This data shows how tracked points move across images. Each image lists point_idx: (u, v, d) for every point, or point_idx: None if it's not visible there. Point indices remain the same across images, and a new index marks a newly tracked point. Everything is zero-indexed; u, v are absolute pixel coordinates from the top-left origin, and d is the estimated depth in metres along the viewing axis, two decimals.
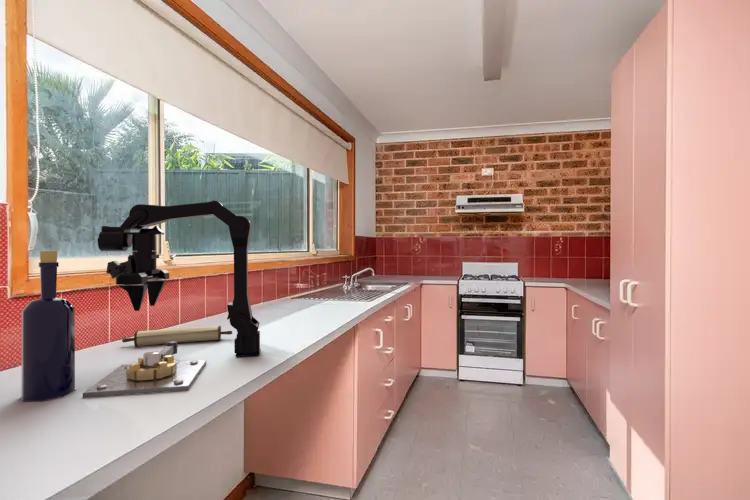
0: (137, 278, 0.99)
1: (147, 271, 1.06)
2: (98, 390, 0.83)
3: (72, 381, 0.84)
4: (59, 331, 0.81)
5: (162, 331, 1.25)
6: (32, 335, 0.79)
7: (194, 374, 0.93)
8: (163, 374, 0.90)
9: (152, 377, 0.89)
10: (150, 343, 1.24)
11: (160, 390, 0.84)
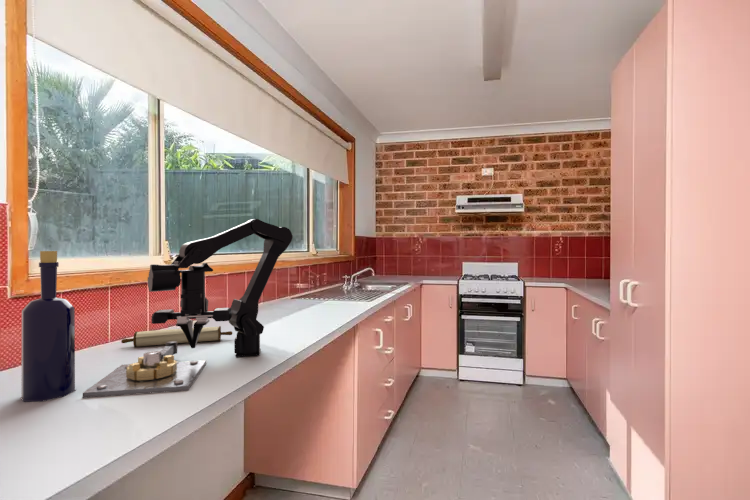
0: (152, 317, 1.01)
1: None
2: (98, 390, 0.83)
3: (72, 381, 0.84)
4: (59, 331, 0.81)
5: (162, 332, 1.25)
6: (32, 335, 0.79)
7: (194, 374, 0.93)
8: (163, 374, 0.90)
9: (152, 377, 0.89)
10: (149, 344, 1.23)
11: (160, 390, 0.84)
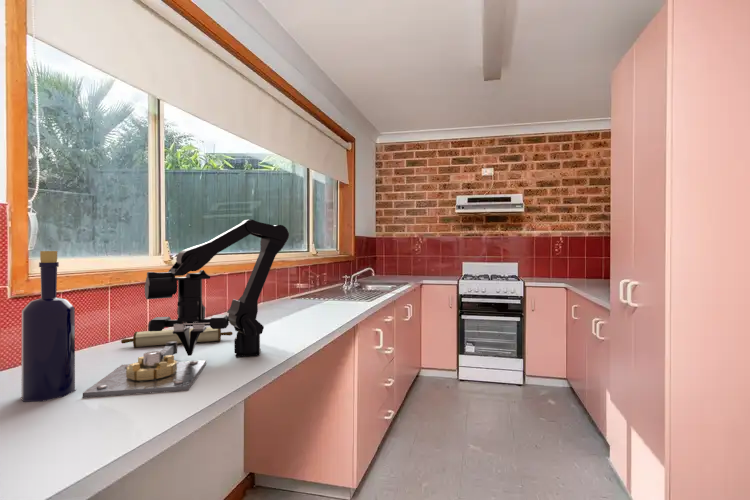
0: None
1: None
2: (98, 390, 0.83)
3: (72, 381, 0.84)
4: (59, 331, 0.81)
5: (161, 332, 1.24)
6: (32, 335, 0.79)
7: (194, 374, 0.93)
8: (163, 374, 0.90)
9: (152, 377, 0.89)
10: (149, 344, 1.23)
11: (160, 390, 0.84)
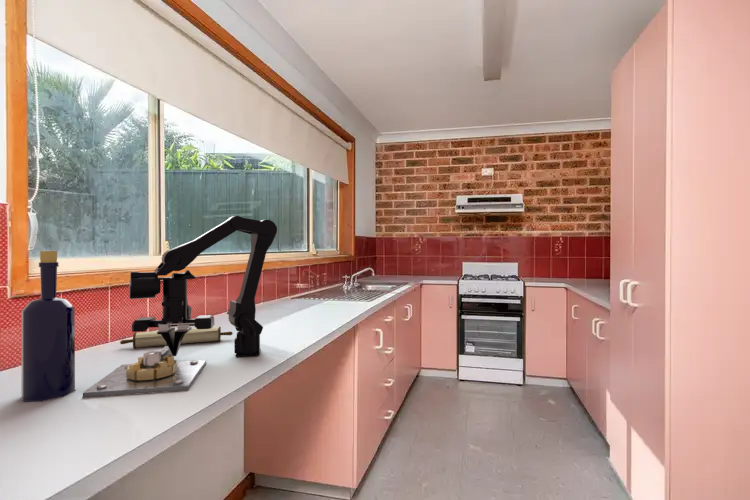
0: (132, 325, 1.00)
1: None
2: (98, 390, 0.83)
3: (72, 381, 0.84)
4: (59, 331, 0.81)
5: None
6: (32, 335, 0.79)
7: (194, 374, 0.93)
8: (163, 374, 0.90)
9: (152, 377, 0.89)
10: (149, 345, 1.22)
11: (160, 390, 0.84)
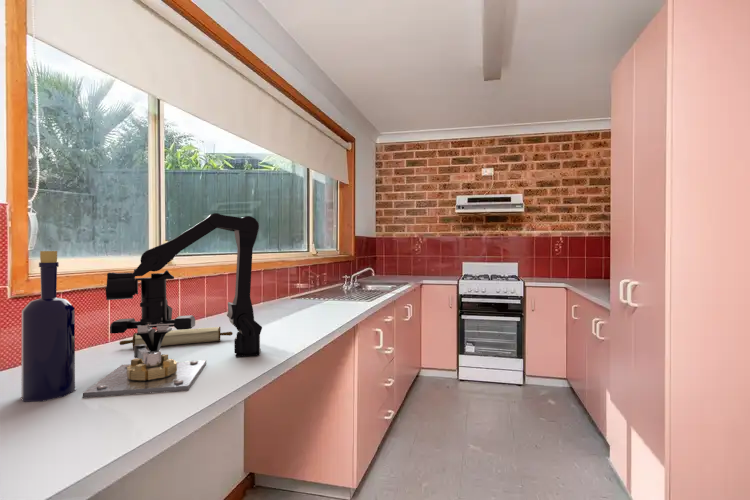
0: None
1: None
2: (98, 390, 0.83)
3: (72, 381, 0.84)
4: (59, 331, 0.81)
5: None
6: (32, 335, 0.79)
7: (194, 374, 0.93)
8: (171, 371, 0.92)
9: (164, 375, 0.90)
10: None
11: (160, 390, 0.84)
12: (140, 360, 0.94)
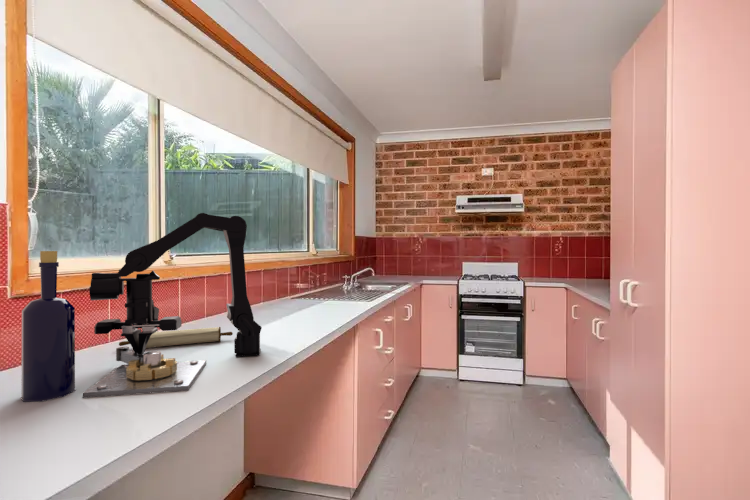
0: None
1: None
2: (98, 390, 0.83)
3: (72, 381, 0.84)
4: (59, 331, 0.81)
5: (161, 333, 1.22)
6: (32, 335, 0.79)
7: (194, 374, 0.93)
8: (174, 369, 0.94)
9: (169, 373, 0.91)
10: (149, 346, 1.20)
11: (160, 390, 0.84)
12: (138, 361, 0.93)
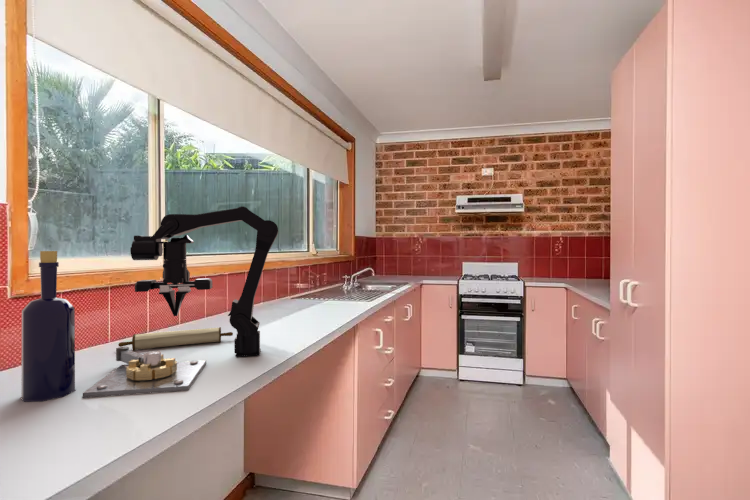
0: (135, 286, 1.06)
1: None
2: (98, 390, 0.83)
3: (72, 381, 0.84)
4: (59, 331, 0.81)
5: (161, 334, 1.21)
6: (32, 335, 0.79)
7: (194, 374, 0.93)
8: (174, 369, 0.94)
9: (169, 373, 0.91)
10: (149, 346, 1.20)
11: (160, 390, 0.84)
12: (138, 361, 0.93)
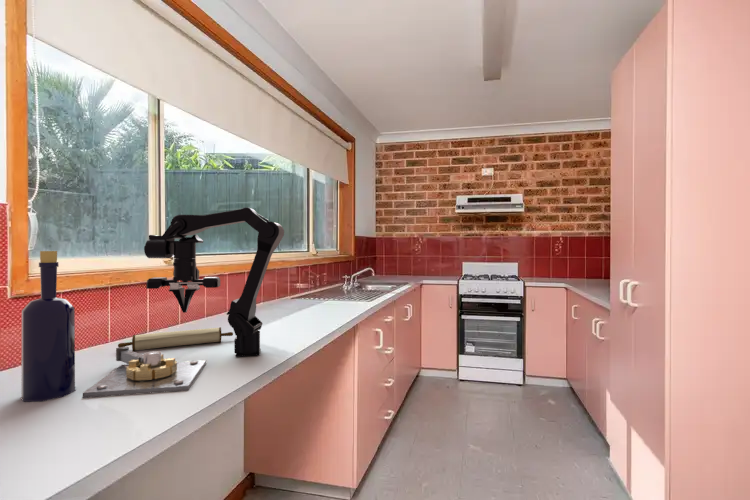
0: (146, 283, 1.10)
1: None
2: (98, 390, 0.83)
3: (72, 381, 0.84)
4: (59, 331, 0.81)
5: (161, 334, 1.21)
6: (32, 335, 0.79)
7: (194, 374, 0.93)
8: (174, 369, 0.94)
9: (169, 373, 0.91)
10: (149, 347, 1.19)
11: (160, 390, 0.84)
12: (138, 361, 0.93)
